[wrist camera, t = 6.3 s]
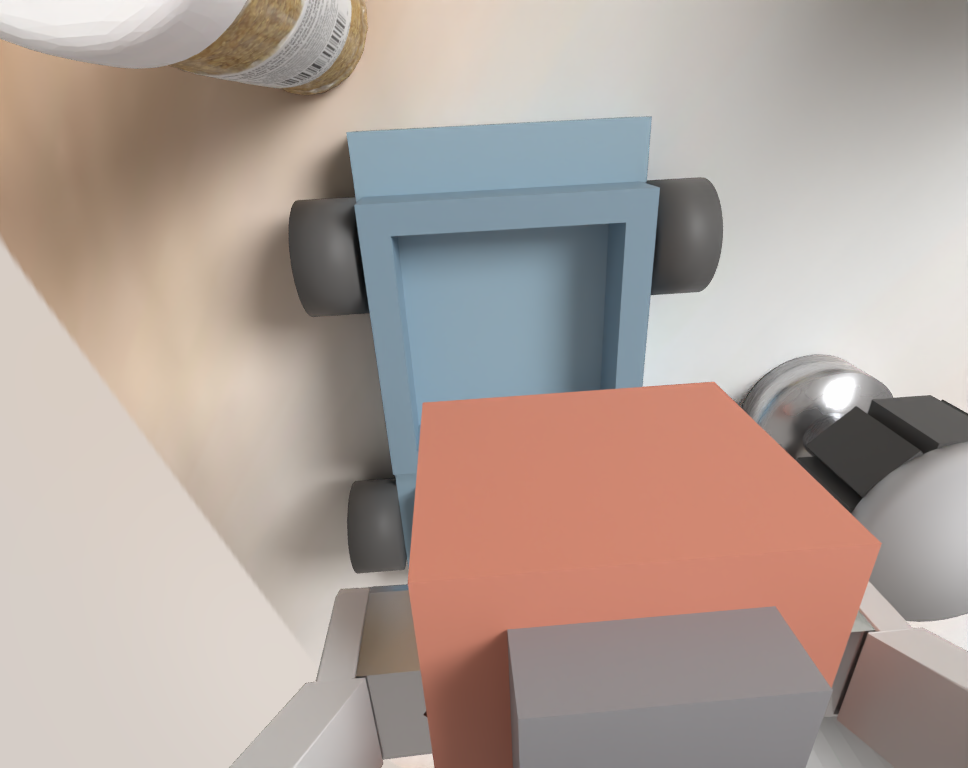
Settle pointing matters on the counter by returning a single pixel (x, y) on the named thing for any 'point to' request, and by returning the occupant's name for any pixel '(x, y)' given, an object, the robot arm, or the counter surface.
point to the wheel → (905, 497)
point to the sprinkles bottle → (201, 37)
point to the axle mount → (809, 399)
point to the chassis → (495, 274)
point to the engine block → (625, 583)
